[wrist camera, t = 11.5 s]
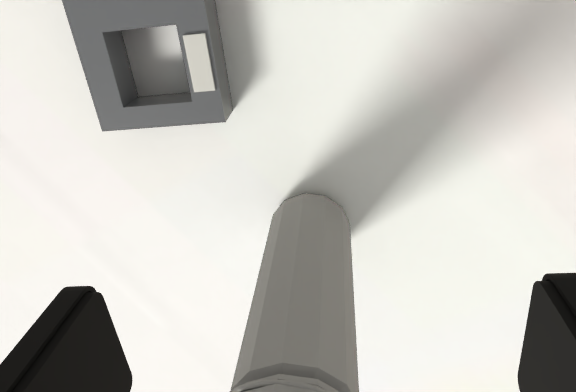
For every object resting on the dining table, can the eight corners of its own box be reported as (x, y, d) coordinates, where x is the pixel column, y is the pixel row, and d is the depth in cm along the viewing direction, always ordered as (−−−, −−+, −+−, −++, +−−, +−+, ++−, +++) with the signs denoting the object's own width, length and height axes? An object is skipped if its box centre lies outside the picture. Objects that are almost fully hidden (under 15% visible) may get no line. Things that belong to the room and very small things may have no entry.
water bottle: (283, 175, 40) (219, 448, 18) (366, 206, 40) (404, 506, 18) (251, 255, 44) (167, 555, 22) (327, 282, 45) (319, 599, 23)
